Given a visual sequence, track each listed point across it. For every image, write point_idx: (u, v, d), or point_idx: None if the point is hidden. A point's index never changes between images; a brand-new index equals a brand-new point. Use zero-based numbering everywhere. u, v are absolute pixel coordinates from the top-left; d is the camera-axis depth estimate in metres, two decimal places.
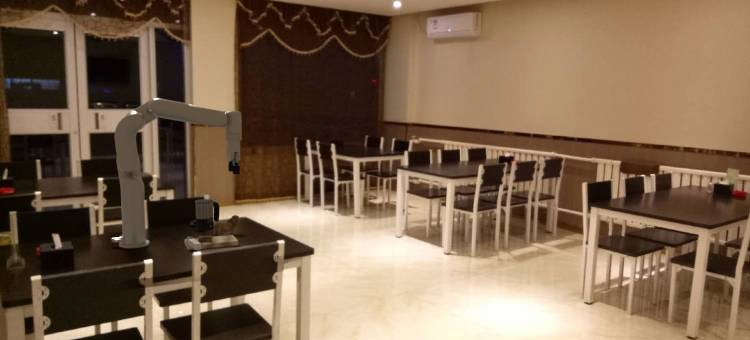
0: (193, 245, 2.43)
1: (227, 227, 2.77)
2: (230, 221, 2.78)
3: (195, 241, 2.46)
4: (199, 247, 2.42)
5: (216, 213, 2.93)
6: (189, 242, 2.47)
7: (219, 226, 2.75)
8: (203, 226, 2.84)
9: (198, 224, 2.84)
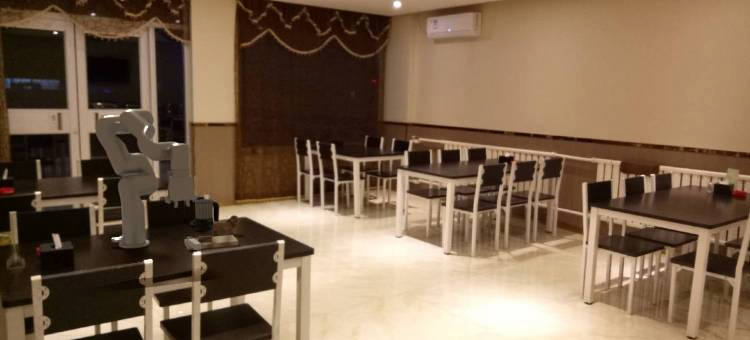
0: (193, 245, 2.43)
1: (226, 227, 2.77)
2: (229, 221, 2.77)
3: (195, 241, 2.46)
4: (199, 247, 2.42)
5: (216, 213, 2.93)
6: (189, 242, 2.47)
7: (218, 226, 2.75)
8: (203, 226, 2.84)
9: (198, 224, 2.84)
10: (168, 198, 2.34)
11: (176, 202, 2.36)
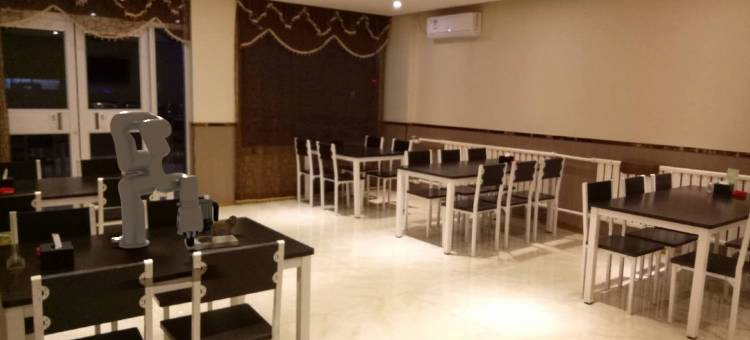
0: None
1: (225, 227, 2.76)
2: (228, 221, 2.77)
3: (195, 241, 2.46)
4: (200, 247, 2.43)
5: (215, 213, 2.93)
6: None
7: (217, 226, 2.74)
8: (203, 226, 2.84)
9: None
10: None
11: (188, 232, 2.40)
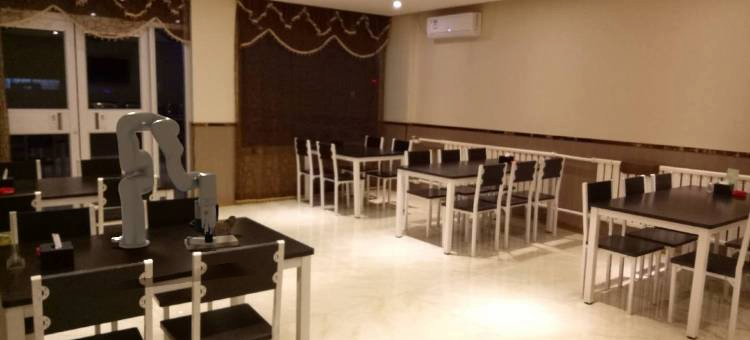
0: None
1: (224, 227, 2.76)
2: (227, 221, 2.77)
3: None
4: (216, 241, 2.52)
5: None
6: (198, 240, 2.50)
7: (216, 226, 2.74)
8: None
9: (197, 224, 2.84)
10: (208, 227, 2.44)
11: (211, 229, 2.47)
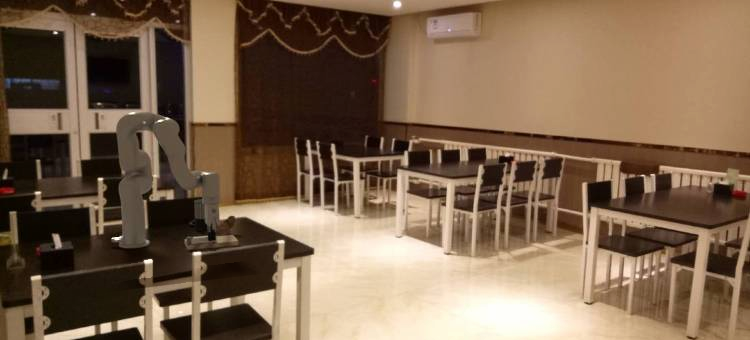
0: None
1: (223, 227, 2.76)
2: (226, 221, 2.77)
3: (205, 236, 2.55)
4: None
5: None
6: (199, 239, 2.52)
7: None
8: (202, 226, 2.84)
9: (197, 224, 2.84)
10: None
11: None
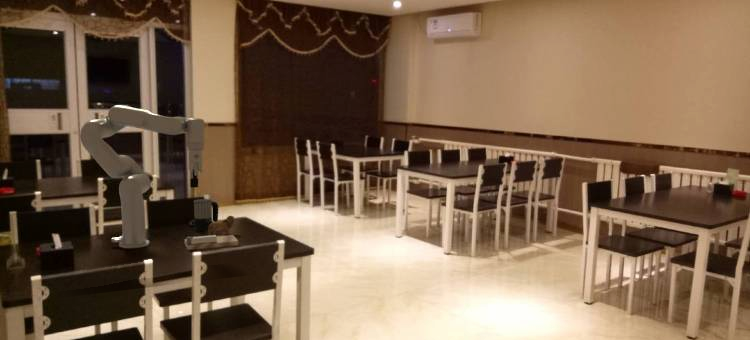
0: (211, 239, 2.54)
1: (222, 228, 2.76)
2: (225, 222, 2.76)
3: (205, 236, 2.55)
4: None
5: (215, 213, 2.93)
6: (199, 239, 2.52)
7: (214, 227, 2.73)
8: (202, 226, 2.84)
9: (197, 224, 2.84)
10: (197, 171, 2.48)
11: None
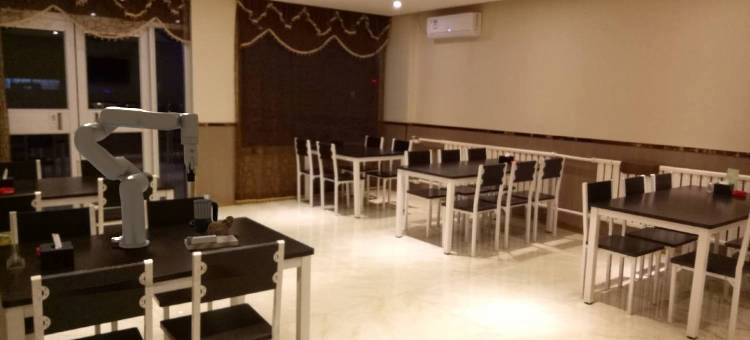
0: (211, 239, 2.54)
1: (222, 228, 2.75)
2: (225, 222, 2.76)
3: (205, 236, 2.55)
4: None
5: (215, 213, 2.93)
6: (199, 239, 2.52)
7: (213, 227, 2.73)
8: (202, 226, 2.84)
9: (196, 224, 2.84)
10: None
11: None
